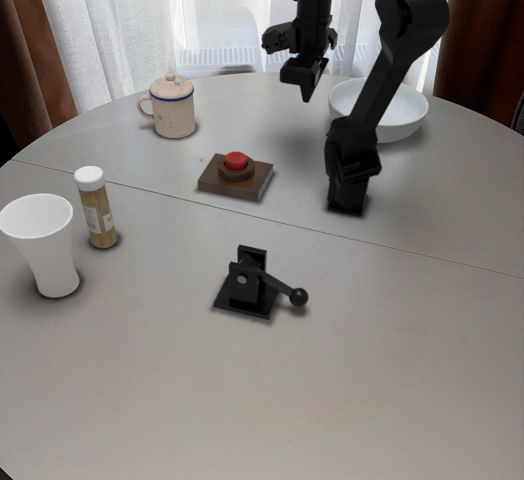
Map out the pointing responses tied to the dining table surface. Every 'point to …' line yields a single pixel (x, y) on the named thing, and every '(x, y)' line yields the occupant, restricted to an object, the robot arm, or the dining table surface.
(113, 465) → the dining table surface
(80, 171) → the sprinkles bottle
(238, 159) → the button
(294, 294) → the lever
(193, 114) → the teacup with lid
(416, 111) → the serving bowl
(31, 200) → the cup
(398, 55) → the robot arm
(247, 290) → the bracket
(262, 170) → the switch block
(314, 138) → the dining table surface
